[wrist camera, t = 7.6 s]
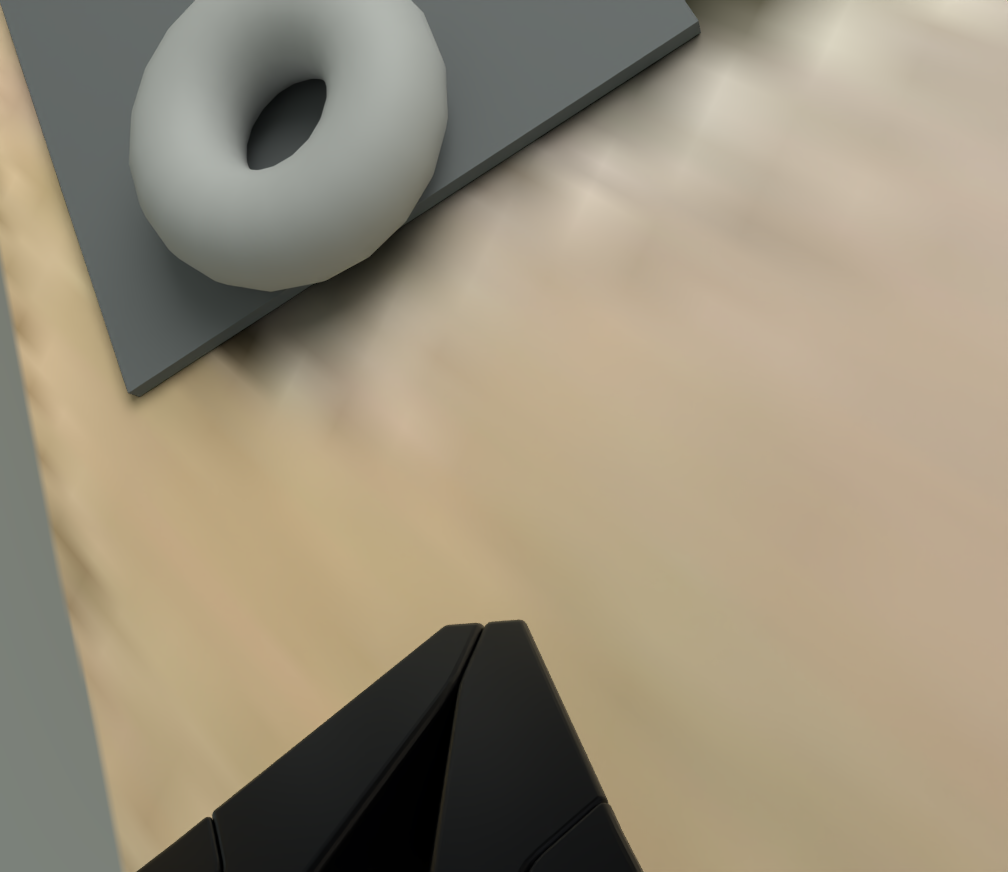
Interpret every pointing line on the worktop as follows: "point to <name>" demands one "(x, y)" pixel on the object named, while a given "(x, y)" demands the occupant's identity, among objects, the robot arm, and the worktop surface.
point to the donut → (316, 164)
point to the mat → (294, 134)
